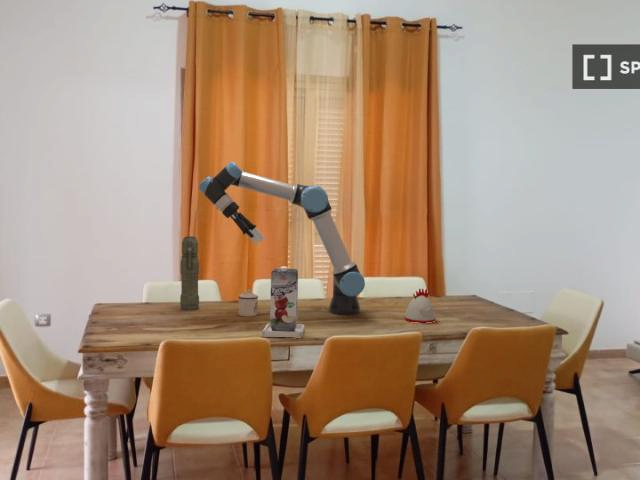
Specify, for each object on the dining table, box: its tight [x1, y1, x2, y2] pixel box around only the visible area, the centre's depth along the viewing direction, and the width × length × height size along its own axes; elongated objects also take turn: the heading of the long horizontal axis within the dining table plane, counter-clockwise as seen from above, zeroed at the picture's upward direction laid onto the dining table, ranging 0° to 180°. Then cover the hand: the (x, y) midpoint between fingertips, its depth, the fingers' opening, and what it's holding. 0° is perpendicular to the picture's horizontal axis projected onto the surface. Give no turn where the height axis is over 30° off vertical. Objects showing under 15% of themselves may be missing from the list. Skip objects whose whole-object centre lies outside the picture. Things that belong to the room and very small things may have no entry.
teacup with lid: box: [238, 289, 259, 318], centre depth 289 cm, size 12×9×12 cm
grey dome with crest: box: [404, 288, 437, 323], centre depth 282 cm, size 14×14×15 cm
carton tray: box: [262, 322, 305, 338], centre depth 252 cm, size 16×15×2 cm
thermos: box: [179, 236, 200, 311], centre depth 297 cm, size 9×12×35 cm
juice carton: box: [269, 265, 299, 332], centre depth 251 cm, size 9×10×27 cm
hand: (260, 241), depth 274 cm, fingers open, 13 cm apart
